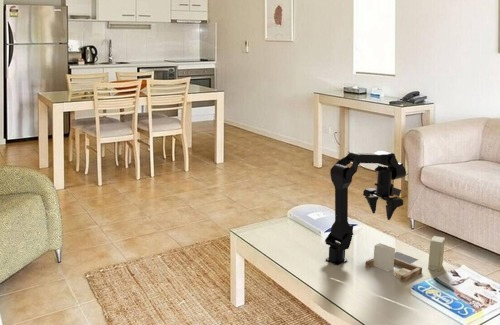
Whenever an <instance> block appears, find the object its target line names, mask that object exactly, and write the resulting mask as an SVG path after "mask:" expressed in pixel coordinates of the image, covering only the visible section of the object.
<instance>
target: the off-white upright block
mask: <svg viewBox="0 0 500 325" xmlns="http://www.w3.org/2000/svg"><path fill="white" fill-rule="evenodd" d="M395 252H396V248H395V247H392V246H389V245H387V244H384V243H382V242H379V243H377V244H375V245H374V248H373V258H374V261H373V266H372V267H376V268H378V269H381V270H383V271H385V272H387V273H389V272H390V271H393V270H394V267H395V266H394V265H395V264H394V256H395Z"/></svg>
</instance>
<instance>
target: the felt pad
mask: <svg viewBox="0 0 500 325" xmlns="http://www.w3.org/2000/svg"><path fill="white" fill-rule="evenodd" d="M394 257H395V258H397V259H400V260H403V261H405V262H408V263H410V264H413V263H414V262H417V261H419V259H418V258H415V257H413V256H410V255H407V254H404V253H401V252H399V251H395V256H394Z"/></svg>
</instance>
